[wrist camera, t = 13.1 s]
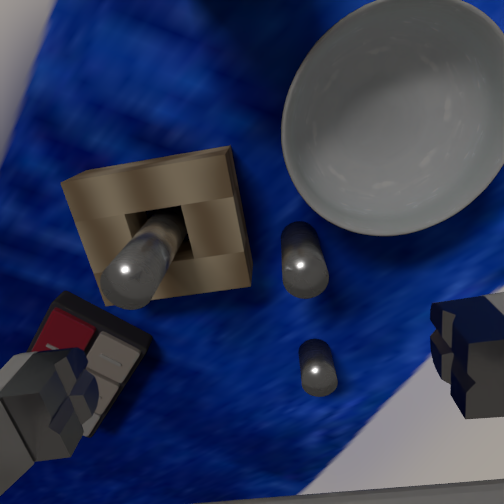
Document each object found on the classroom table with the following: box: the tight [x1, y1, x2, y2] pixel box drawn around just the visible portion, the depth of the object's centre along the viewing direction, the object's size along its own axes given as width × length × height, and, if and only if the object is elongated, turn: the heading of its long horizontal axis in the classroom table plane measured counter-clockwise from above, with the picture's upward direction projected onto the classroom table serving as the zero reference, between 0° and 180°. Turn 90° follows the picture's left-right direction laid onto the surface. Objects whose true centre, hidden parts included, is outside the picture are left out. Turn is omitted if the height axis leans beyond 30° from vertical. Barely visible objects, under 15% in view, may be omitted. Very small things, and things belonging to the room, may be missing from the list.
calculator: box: [26, 291, 152, 438], centre depth 45 cm, size 11×4×15 cm
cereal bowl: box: [281, 0, 504, 236], centre depth 31 cm, size 17×17×7 cm
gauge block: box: [61, 145, 253, 306], centre depth 37 cm, size 14×12×5 cm
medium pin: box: [281, 221, 329, 299], centre depth 35 cm, size 4×4×9 cm
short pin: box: [298, 339, 338, 397], centre depth 42 cm, size 4×4×5 cm
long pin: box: [100, 205, 188, 310], centre depth 32 cm, size 4×4×14 cm
